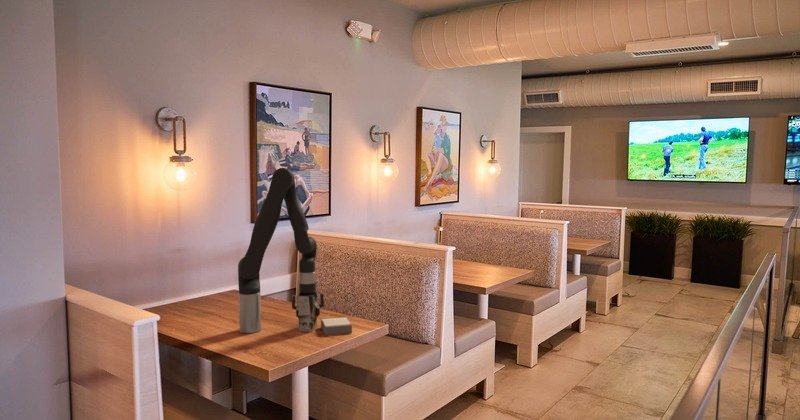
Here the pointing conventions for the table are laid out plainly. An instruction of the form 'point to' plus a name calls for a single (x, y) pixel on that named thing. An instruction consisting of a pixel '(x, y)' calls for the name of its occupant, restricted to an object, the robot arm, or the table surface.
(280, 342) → the table surface
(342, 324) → the pedestal
